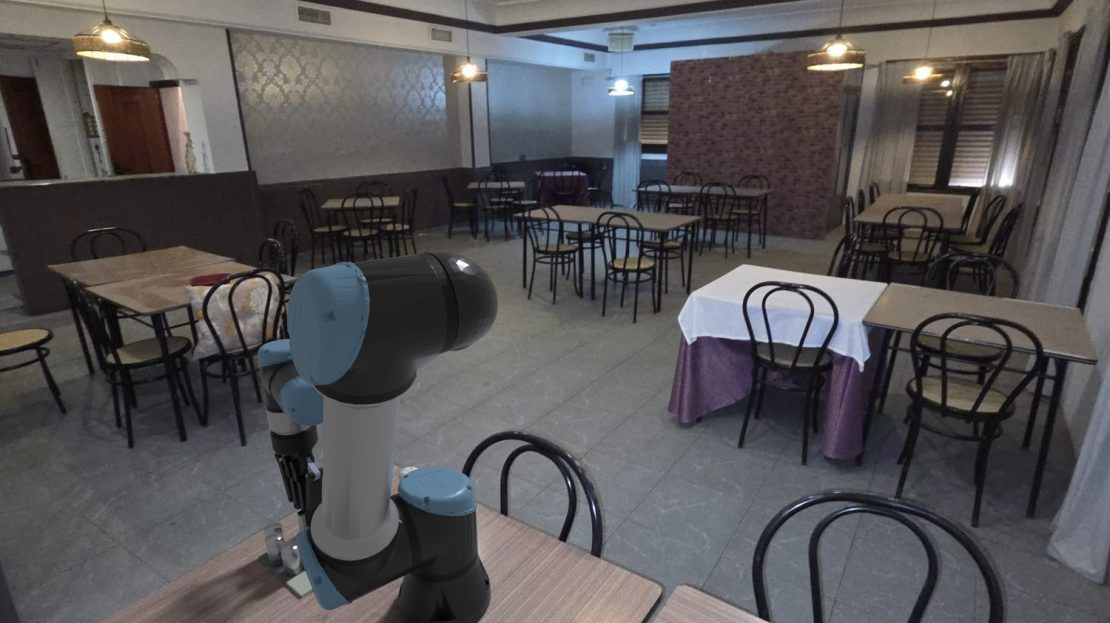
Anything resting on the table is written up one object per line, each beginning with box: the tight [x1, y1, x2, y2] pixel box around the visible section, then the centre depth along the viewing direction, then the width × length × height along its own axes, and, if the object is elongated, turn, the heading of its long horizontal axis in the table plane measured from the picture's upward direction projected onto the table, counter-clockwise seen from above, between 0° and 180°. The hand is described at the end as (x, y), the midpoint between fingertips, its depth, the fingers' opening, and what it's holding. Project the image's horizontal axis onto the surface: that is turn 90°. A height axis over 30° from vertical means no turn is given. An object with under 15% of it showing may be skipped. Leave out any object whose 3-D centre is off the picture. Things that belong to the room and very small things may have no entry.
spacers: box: [263, 497, 323, 577], centre depth 109 cm, size 10×15×5 cm
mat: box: [258, 536, 313, 598], centre depth 109 cm, size 15×16×1 cm
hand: (310, 538), depth 110 cm, fingers closed
